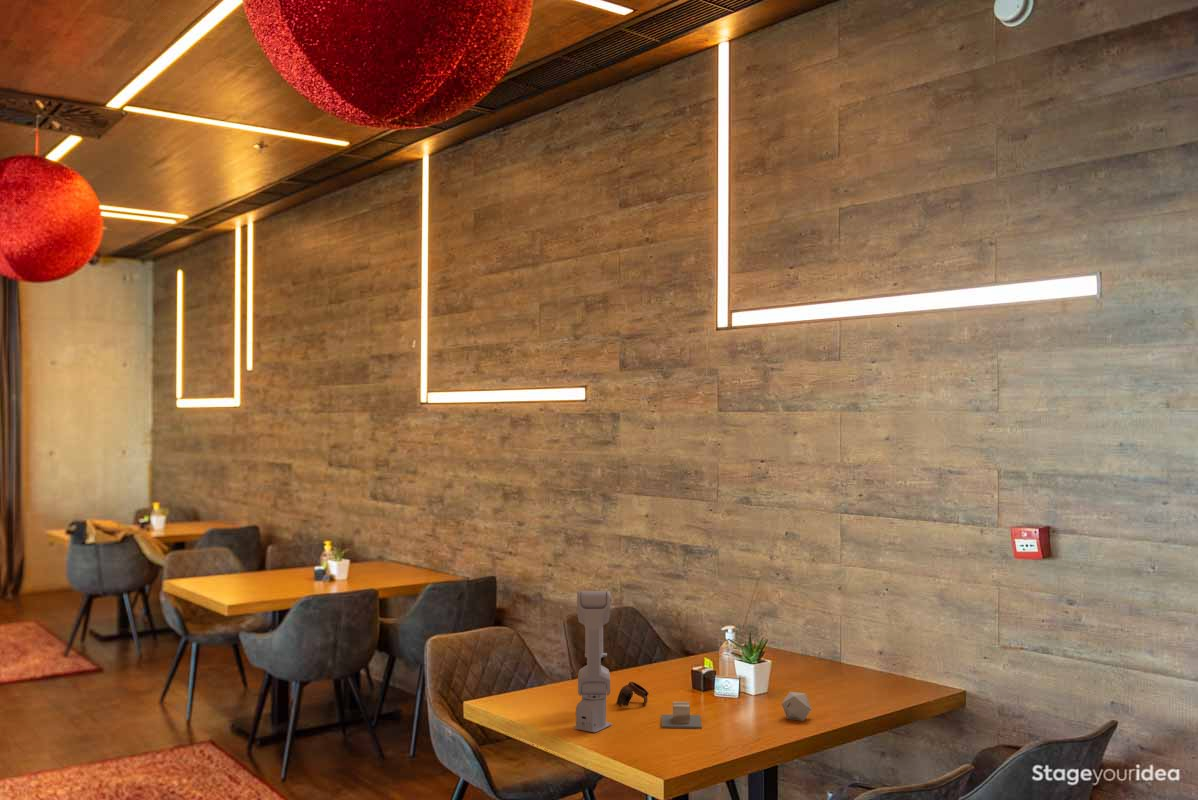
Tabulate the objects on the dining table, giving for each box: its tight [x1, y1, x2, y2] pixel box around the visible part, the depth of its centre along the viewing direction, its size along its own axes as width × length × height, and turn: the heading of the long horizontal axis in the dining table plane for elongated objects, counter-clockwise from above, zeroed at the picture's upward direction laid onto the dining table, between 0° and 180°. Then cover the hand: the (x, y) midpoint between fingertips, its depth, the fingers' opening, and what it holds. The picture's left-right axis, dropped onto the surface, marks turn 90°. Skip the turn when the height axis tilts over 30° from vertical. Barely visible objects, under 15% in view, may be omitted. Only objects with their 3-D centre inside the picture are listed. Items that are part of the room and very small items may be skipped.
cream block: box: [672, 701, 691, 723], centre depth 303 cm, size 5×5×5 cm
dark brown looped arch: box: [616, 681, 649, 707], centre depth 322 cm, size 12×10×8 cm
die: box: [781, 691, 813, 722], centre depth 307 cm, size 8×9×10 cm
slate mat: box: [661, 714, 703, 730], centre depth 303 cm, size 12×12×1 cm
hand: (594, 682), depth 314 cm, fingers open, 7 cm apart
